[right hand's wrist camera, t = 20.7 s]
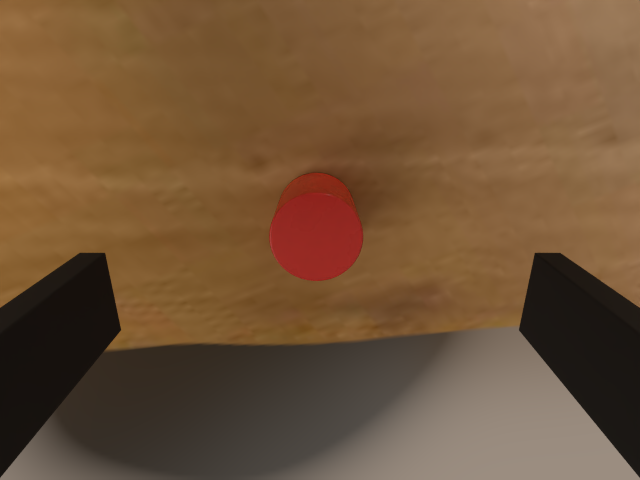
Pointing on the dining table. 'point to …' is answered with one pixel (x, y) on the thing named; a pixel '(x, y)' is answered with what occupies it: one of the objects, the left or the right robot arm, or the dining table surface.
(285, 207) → the tin
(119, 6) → the dining table surface
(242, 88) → the dining table surface
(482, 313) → the dining table surface
